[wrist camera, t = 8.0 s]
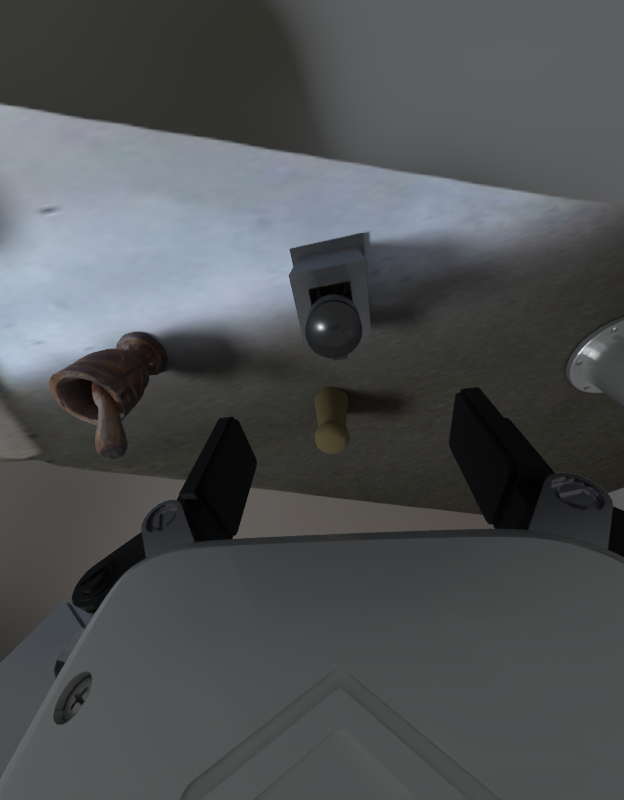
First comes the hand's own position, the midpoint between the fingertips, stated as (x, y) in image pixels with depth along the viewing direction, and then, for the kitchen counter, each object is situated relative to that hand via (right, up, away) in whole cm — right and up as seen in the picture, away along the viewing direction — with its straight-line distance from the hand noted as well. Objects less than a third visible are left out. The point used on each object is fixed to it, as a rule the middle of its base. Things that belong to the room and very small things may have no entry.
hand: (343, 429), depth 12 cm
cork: (+2, +1, +36) cm, 36 cm away
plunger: (+1, +15, +21) cm, 26 cm away
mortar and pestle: (-27, +9, +32) cm, 43 cm away
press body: (+1, +17, +24) cm, 30 cm away
